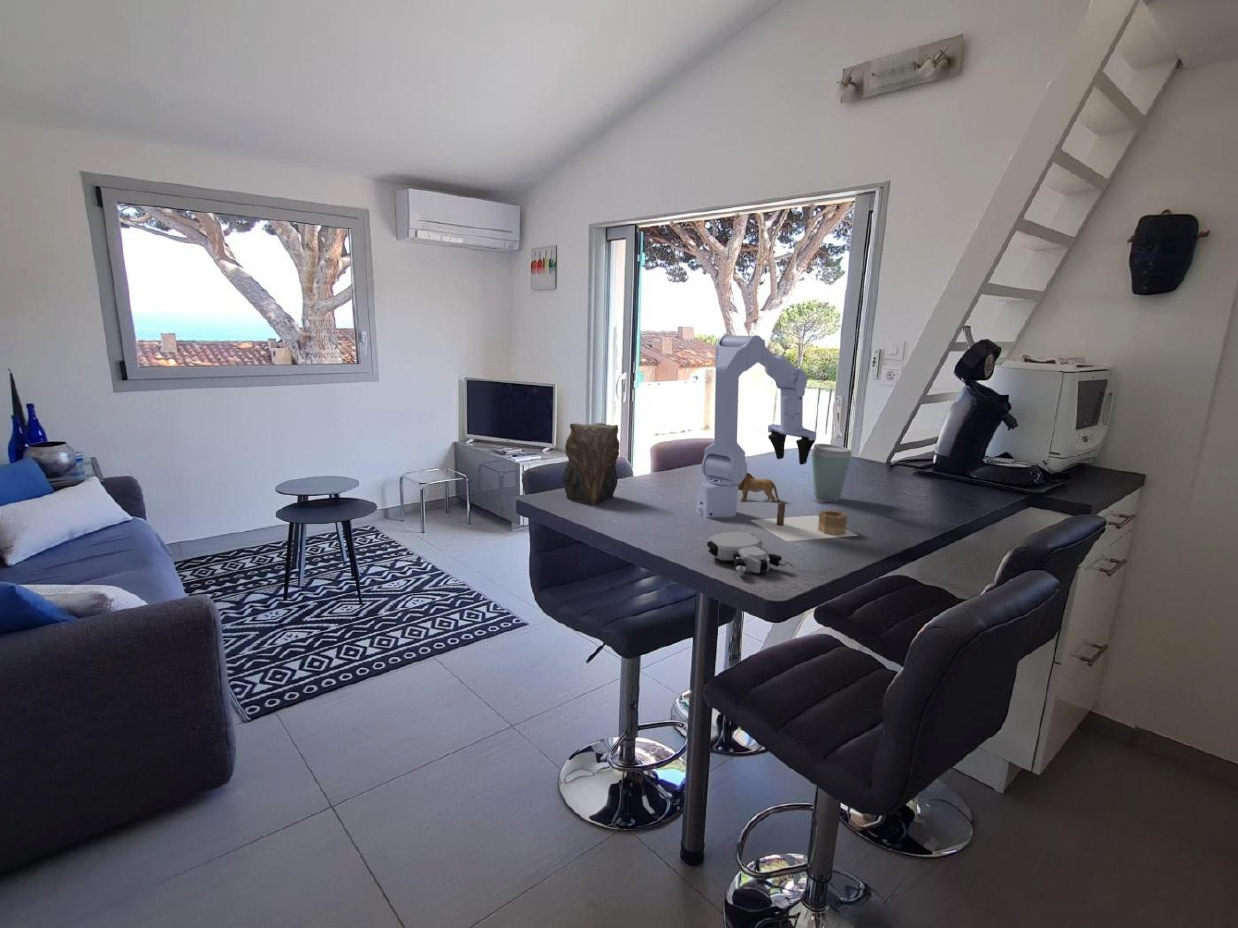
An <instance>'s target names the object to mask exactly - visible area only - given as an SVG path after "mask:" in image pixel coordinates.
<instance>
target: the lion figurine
mask: <svg viewBox="0 0 1238 928" xmlns="http://www.w3.org/2000/svg"><path fill="white" fill-rule="evenodd" d="M773 490H774V494H773ZM738 491H742V497H741V500H740V502H741V503H746V502H747V499H748V494H749V492H752V493H760V492H762V491H763V492H764V493H765V495H766V496H767V498H765V499H764V500H763V502H769V501H770V500H771V501H772V502H773V503H776V501H777V502H782V500H780V499H779V495H778V490H777V487H776V484H775V483H774V481H772V480H771V479H769V478H755V477H754V476H753V475H752V474H751V473H749V472H747V474H746V476H745V478H744V480H743V481H742V482H741V484H738Z"/></svg>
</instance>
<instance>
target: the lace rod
mask: <svg viewBox="0 0 1238 928" xmlns="http://www.w3.org/2000/svg"><path fill="white" fill-rule="evenodd" d="M785 513H786V503H785V501H778V503H777V514H776V518H777V525H778V526H783V525H784V518H785Z"/></svg>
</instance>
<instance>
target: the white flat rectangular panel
mask: <svg viewBox="0 0 1238 928" xmlns="http://www.w3.org/2000/svg"><path fill="white" fill-rule="evenodd" d="M750 521H751V522H753V523H754V524H756V525H758V526H759V527H761V528H762V529H764V530H766V531H768V532H770V534H771V533H772V534H773V535H774V536H777V537H778V538H780V539H782V540H784V541H785V542H796V541H809V540H822V539H833V538H843V537H855V536H856V537H857V536H859V534H857V533H854V532H852V531H850V530H849V529H846V532H845V534H844V535H830V534H824V533H822V532H820V531H818V525H819V516H818V515H815V514H814V515H802V516H790V517H784V525H783V526H778V525H777V517H776V518H775V517H774V518H761V519H760V518H758V519H750Z"/></svg>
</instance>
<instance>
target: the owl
mask: <svg viewBox="0 0 1238 928" xmlns="http://www.w3.org/2000/svg"><path fill="white" fill-rule="evenodd" d="M569 428H570V433H569V435H568V437H567V438H566V442H565V446H564V449H565V451H564V454H565V455H566V457H567V463H566V465H565V466H564V471H563V473H562V476H561V480H562V485H563V488H564V492H565V494H566V496H565V498H566V497H567V498H569V499H568V500H571V499H574V500H577V501H576V502H578V501H581V502H580V503H582V502H583V504H584V503H586V504H585V505H589V504H590V506H593V505H596V506H597V504H598V505H600V504H602V503H604V502H606V501H605V500H607V501H608V500H610V499H609V498H611V499H613V498H614V493H615V492H616V491H615V490H616V489H617V487H618V474H617V470H616V464H617V460H618V457H619V456H620V451H619V450H620V440H619V438H618V433H619V425H618V424H614V425H611V424H607V423H602V422H598V423H597V422H596V423H593V424H588V423H587V424H581V423H570V424H569ZM612 497H613V498H612ZM567 498H566V499H567ZM574 500H573V501H574ZM603 501H604V502H603ZM601 502H602V503H601ZM599 503H600V504H599Z"/></svg>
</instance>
